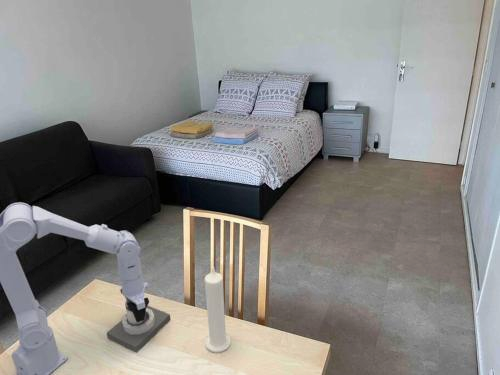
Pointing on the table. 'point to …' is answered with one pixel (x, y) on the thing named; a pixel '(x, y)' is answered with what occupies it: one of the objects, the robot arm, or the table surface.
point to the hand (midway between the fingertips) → (137, 314)
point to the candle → (216, 313)
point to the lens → (132, 316)
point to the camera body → (138, 329)
